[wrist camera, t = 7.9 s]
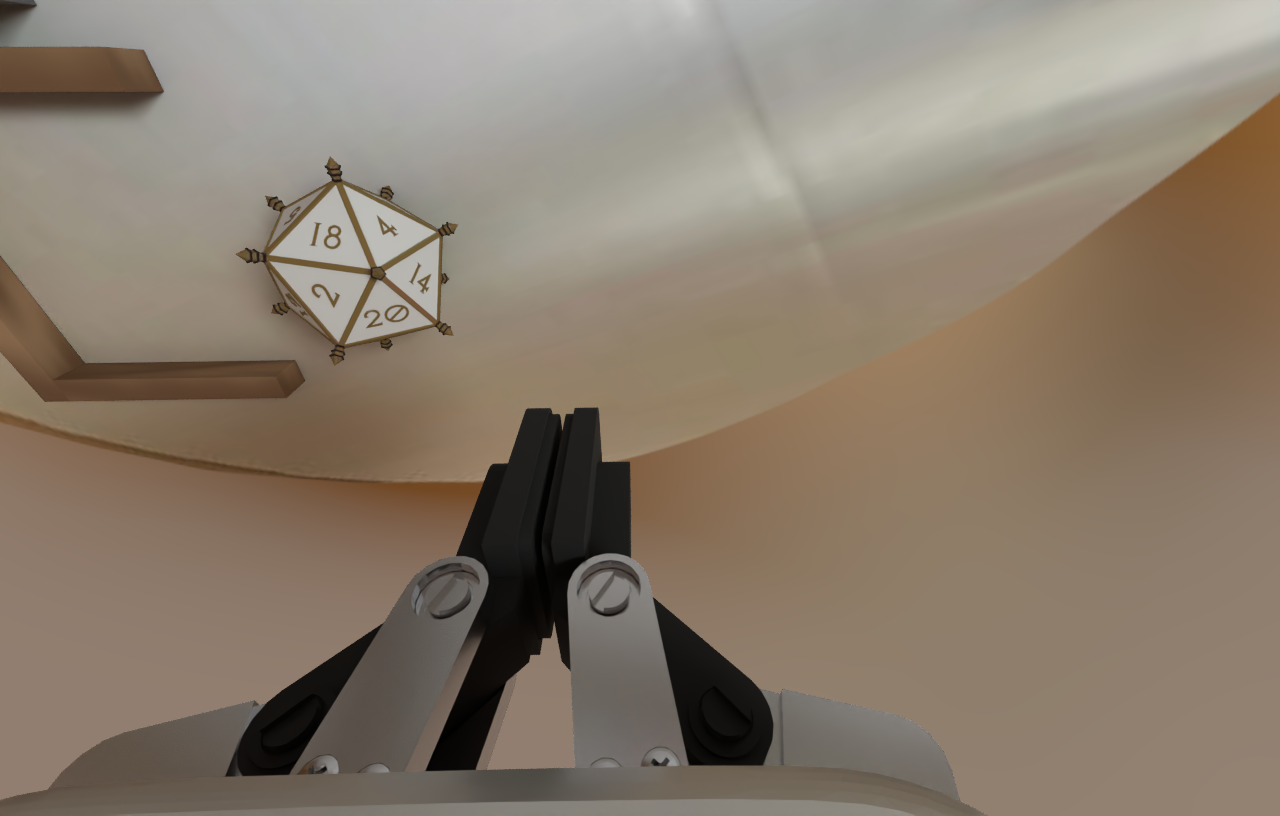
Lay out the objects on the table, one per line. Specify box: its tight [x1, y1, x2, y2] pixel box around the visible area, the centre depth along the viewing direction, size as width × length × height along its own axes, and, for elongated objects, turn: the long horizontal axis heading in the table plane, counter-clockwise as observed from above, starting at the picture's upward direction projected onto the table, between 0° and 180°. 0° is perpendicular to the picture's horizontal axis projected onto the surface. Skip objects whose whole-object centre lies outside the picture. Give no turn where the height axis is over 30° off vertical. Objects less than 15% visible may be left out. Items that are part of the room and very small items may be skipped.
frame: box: [0, 47, 305, 402], centre depth 24 cm, size 17×14×2 cm
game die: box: [236, 157, 457, 365], centre depth 22 cm, size 9×8×10 cm
